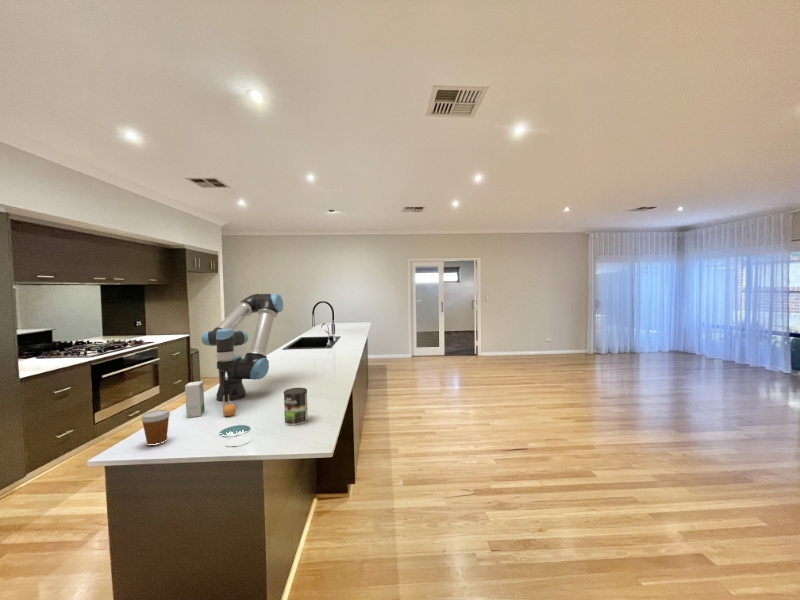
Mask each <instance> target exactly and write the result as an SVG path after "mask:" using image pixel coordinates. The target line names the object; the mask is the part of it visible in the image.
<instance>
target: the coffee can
mask: <svg viewBox="0 0 800 600" xmlns="http://www.w3.org/2000/svg"><path fill="white" fill-rule="evenodd" d="M283 403H284V404H283V405H284V406H283V407H284V424H285V425H287V424H288V425H287V426H298V425H297V424H300V425H302V424H301V423H303V424H305V423H307V422H308V421H309V417H308V416H309V415H308V412H309V411H308V388H305V387H291V388H288V389H285V390H284V391H283ZM307 420H308V421H307ZM306 421H307V422H306ZM304 422H305V423H304Z"/></svg>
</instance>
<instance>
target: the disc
mask: <svg viewBox="0 0 800 600" xmlns="http://www.w3.org/2000/svg"><path fill="white" fill-rule="evenodd" d="M249 429H250V430H251V427H250V426H249V425H245V424H240V425H231V426H228V427H226V428H223V429H222V430H220V431H219V433H222V434H219V433H218V435H219V436H220V435H223V434H224V435H227V434H226V432H227V433H229V432H230V431H231V432H233V433H234V434H236V431H237V433H238V432H239V431H241V432H242V430H244V432H245V431H248V430H249ZM250 430H249V431H250ZM249 431H248V432H249ZM222 438H225V437H224V436H223V437H222Z"/></svg>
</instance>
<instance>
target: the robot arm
mask: <svg viewBox="0 0 800 600" xmlns="http://www.w3.org/2000/svg"><path fill="white" fill-rule="evenodd" d="M283 310H284V301H283V298H282V296H281V295H280V294H279V293H254V294H251V295H248V296H247V297H245V298H243V299H242V300H241V301H240V302H239V303H237V305H236V307H235V308H234V309H233V311H231V313H230V314H228V315H227V316H226V317H225V318H224V319H223V320H222V321H220V323H218V325H216V326H215V328H213V329H212V330H209V331H204V332H203V333H202V334H201V342H202V344H203V345H204V346H206V347H207V346H209V347H214V346H216V354H215V355H214V356H215V357H216V369H218V381H219V386H218V389H217V392H216V401H218V400H219V401H218V402H222V410H223V409H224V407H225V406H226V405H228V404H230V401H231V402H232V401H237V400H239V399H242V398H245V397H246V395H247V391H246V388H245V386H244V384H243V380H261V379H263V378H265V377H266V376H267V374H268V372H269V369H270V365H269V364H270V361H269V359H268V357H267V355H266V352H267V347H268V343H269V339H270V335H271V331H272V328H273V323H274V319H275V318H277V317H278V313H281V312H282V311H283ZM254 313H255V314H256V313H257V314H258V318H257V322H256V326H255V329H254V332H253V337H252V340H251V343H250V348H249V351H248V352H246V353H245V355H244V357H243V358H242V355H240V354H239V355H235V354H234V352H235V350H234V347H238V346H242V345H245V344H246V343H247V342H248V340H249V334H248V333H247V332H246V331H245V330H235V329H236V328H237V327H238V326H239V324H240V323H242V322H243V320H245V319H246V317H249V316H251V315H252V314H254Z"/></svg>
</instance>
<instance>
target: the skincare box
mask: <svg viewBox="0 0 800 600" xmlns="http://www.w3.org/2000/svg"><path fill="white" fill-rule="evenodd" d="M184 392H185V395H184V396H185V409H186V410H185V411H186V418H187V419H188V418H189V417H191V418H197V417H196V416H198V417H201V416H202V415H203V414H204V413H205V411H206V410H205V394H204V393H205V391H204V381H203V380H200V381H193V382H192V381H191V382H188V383H186V385H185V386H184ZM203 412H204V413H203Z"/></svg>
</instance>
